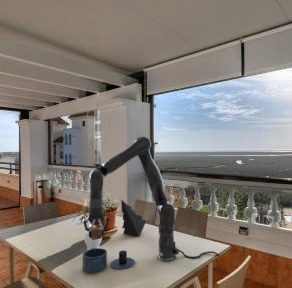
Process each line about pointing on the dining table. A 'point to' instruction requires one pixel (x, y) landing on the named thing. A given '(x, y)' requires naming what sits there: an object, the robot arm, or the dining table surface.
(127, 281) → the dining table surface
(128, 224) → the decorative tree
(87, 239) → the white vase
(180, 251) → the robot arm
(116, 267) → the lid
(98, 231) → the block
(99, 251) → the pot
